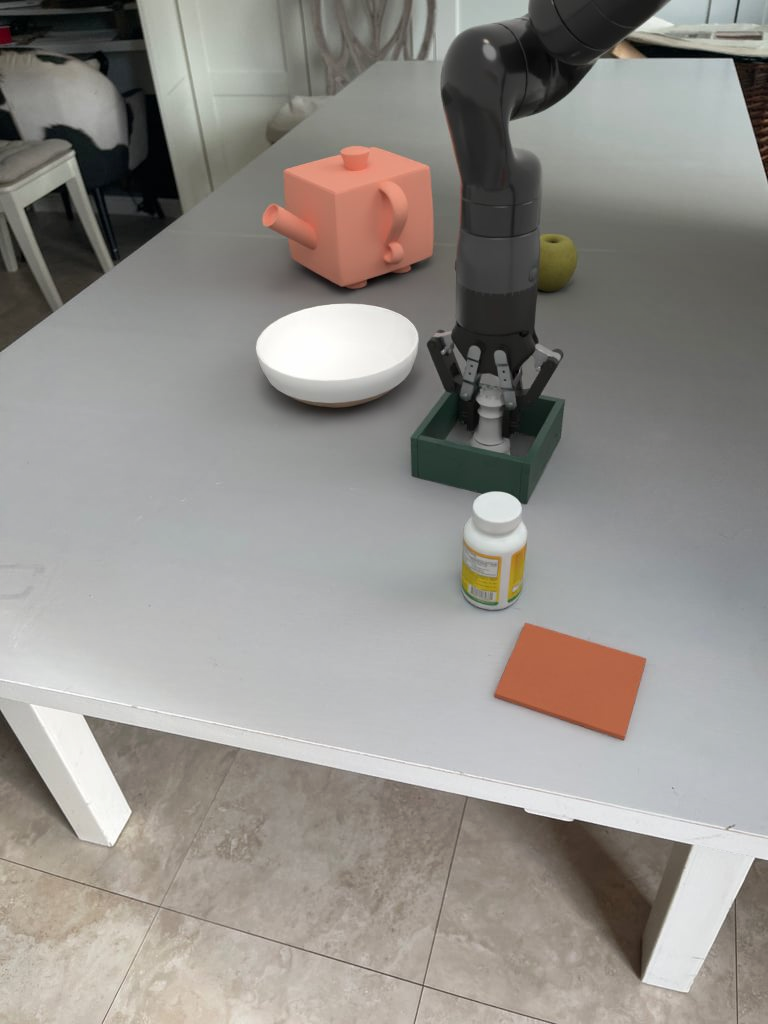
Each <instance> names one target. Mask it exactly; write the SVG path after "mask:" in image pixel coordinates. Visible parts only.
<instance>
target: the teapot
mask: <svg viewBox="0 0 768 1024" xmlns="http://www.w3.org/2000/svg"><path fill="white" fill-rule="evenodd" d="M432 190H433V189H432V177H431V168H430V166H429V165H428V164H424V163H422V162H419V161H417V160H414V159H411V158H407V157H405V156H402V155H400V154H397V153H394V152H391V151H388V150H385V149H382V148H378V147H377V146H372V147H366V146H363V145H351V146H346V147H344V148H342V149H341V150H340V154H337V155H332V156H328V157H324V158H321V159H317V160H314V161H310V162H307V163H303V164H299V165H295V166H292V167H289V168H285V169H284V170H283V193H284V195H283V196H284V207H282V206H280V205H279V204H277V203H271V204H270V205H268V206H267V207H266V209H264V212H263V214H262V225H263V226H264V227H266V228H268V229H269V230H272V231H273V232H276V233H278V234H279V235H282V236H284V237H286V238H287V242H288V248H289V252H290V256H291V259H292V260H294V261H295V262H297V263H298V264H300V265H302V266H304V267H305V268H307V269H308V270H310V271H312V272H314V273H316V274H317V275H319V276H321V277H323V278H325V279H326V280H328V281H330V282H331V283H334V284H335V285H338V286H339V287H345V288H347V289H353V290H354V289H355V290H356V289H361V288H364V287H365V286H367V284H368V282H367V281H368V280H369V279H372V278H375V277H379V276H382V275H385V274H388V273H394V274H403V273H404V274H405V273H407V272H409V271H411V270H412V267H411V265H413V264H416V263H419V262H421V261H424V260H426V259H429V258H431V257H432V256H433V252H434V240H435V238H434V237H435V232H434V231H435V230H434V228H435V227H434V205H433V204H434V202H433V191H432Z"/></svg>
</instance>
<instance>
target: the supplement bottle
mask: <svg viewBox="0 0 768 1024" xmlns="http://www.w3.org/2000/svg"><path fill="white" fill-rule="evenodd" d="M471 510H472V511H471V517H469V519H468V520H467V521H466V523H465V524H464V527H463V531H462V553H461V554H462V556H461V578H460V579H461V580H460V583H461V585H460V587H461V591H462V595H463V596H464V598H465V599H466V600H467V601H468V603H470V604H472V605H473V606H474V607H477V608H480V609H483V610H489V611H497V610H502V609H506V608H508V607H511V606H512V605H513V604H514V603H516V601H517V600H518V599H519V598H520V596H521V594H522V590H523V582H524V572H525V563H526V552H527V544H528V530H527V527H526V524H525V523H524V522H523V520H522V519H523V518H522V515H523V514H522V513H523V507H522V503H520V502H519V501H518V499H517V498H515V497H514V496H512V495H510V494H508V493H504V492H488V493H484V494H483V493H481V494H480V495H479V496H477V497H476V498H475V499H474V501H473V503H472V508H471Z"/></svg>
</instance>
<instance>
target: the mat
mask: <svg viewBox="0 0 768 1024" xmlns="http://www.w3.org/2000/svg"><path fill="white" fill-rule="evenodd" d="M515 643H516V644H515V646H514V648H513V650H512V652H511V655H510V657H509V658H508V662H507V664H506V666H505V668H504V670H503V672H502V675H501V677H500V680H499V682H498V684H497V687H496V689H495V691H494V694H493V695H494V696H493V697H494V698H497V699H499V700H502V701H505V702H509V703H510V704H514V705H516V706H520V707H523V708H526V709H529V710H532V711H535V712H538V713H541V714H544V715H547V716H550V717H553V718H557V719H559V720H562V721H565V722H568V723H571V724H574V725H577V726H580V727H583V728H586V729H589V730H592V731H595V732H598V733H601V734H603V735H607V736H610V737H612V738H616V739H619V740H622V741H624V740H625V739H626V736H627V731H628V729H629V724H630V721H631V716H632V713H633V709H634V706H635V702H636V698H637V694H638V691H639V689H640V688H639V687H640V684H641V681H642V677H643V673H644V670H645V666H646V662H647V658H646V657H643V656H640V655H636V654H632V653H630V652H626V651H623V650H621V649H620V650H619V649H616V648H612V647H610V646H606V645H602V644H599V643H596V642H593V641H589V640H585V639H582V638H579V637H575V636H572V635H569V634H565V633H562V632H558V631H555V630H551V629H548V628H545V627H542V626H539V625H535V624H532V623H528V622H524V626H523V627H522V629H521V631H520V634H519V636H518V639H517V640H516V642H515Z"/></svg>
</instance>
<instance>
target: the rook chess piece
mask: <svg viewBox="0 0 768 1024" xmlns="http://www.w3.org/2000/svg"><path fill="white" fill-rule="evenodd" d="M488 385H489V388H487V386H486V385H484V386H482V389H480V393H479V394H478V395H477V396H476V401H477V402H478V403H479V404H480V407H479V409H478V413H479V414H480V416H479V423H478V426H477V427H476V429H475V431H474V432H473V435H472V437H470V440H469V446H472V447H477V448H481V449H486V450H490V451H495V452H499V453H504V454H508V455H511V442H510V438H509V439H507V438H502V422H503V406H504V405H505V401H504V395H503V390H501V388H500V384H498V385H496V386H497V388H494V386H495V383H489V384H488Z"/></svg>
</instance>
